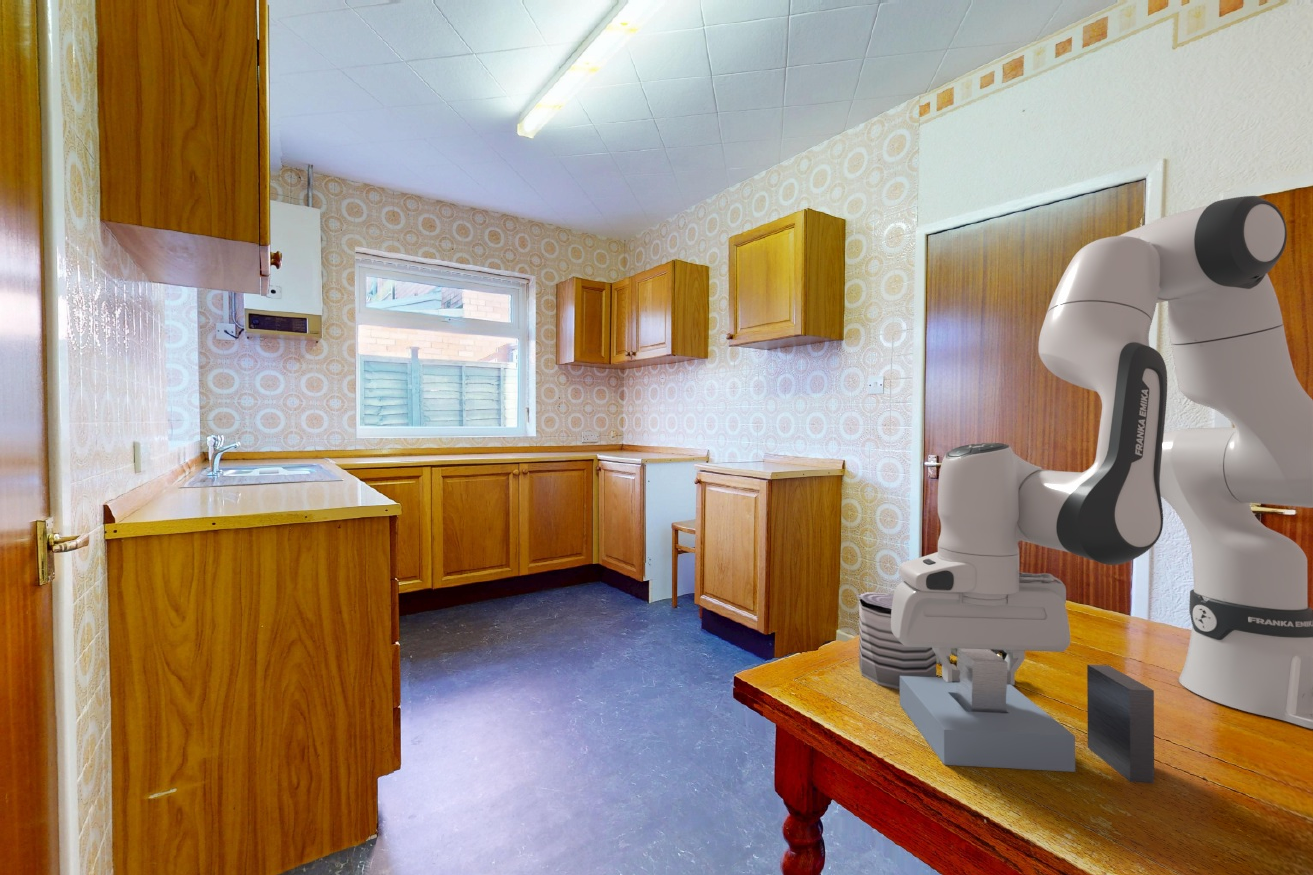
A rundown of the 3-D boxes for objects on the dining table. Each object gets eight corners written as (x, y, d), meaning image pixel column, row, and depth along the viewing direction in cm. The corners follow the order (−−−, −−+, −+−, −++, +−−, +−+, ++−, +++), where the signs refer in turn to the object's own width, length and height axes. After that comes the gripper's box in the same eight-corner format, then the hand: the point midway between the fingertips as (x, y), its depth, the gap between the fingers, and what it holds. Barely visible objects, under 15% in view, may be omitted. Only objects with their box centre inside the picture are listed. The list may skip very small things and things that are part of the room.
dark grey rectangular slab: (1108, 748, 64) (1108, 665, 64) (1154, 783, 58) (1153, 690, 58) (1087, 747, 64) (1087, 664, 64) (1130, 781, 58) (1129, 689, 58)
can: (846, 660, 90) (846, 589, 90) (911, 658, 91) (911, 588, 91) (879, 692, 78) (879, 610, 78) (953, 690, 79) (953, 609, 79)
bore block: (1005, 709, 74) (1005, 679, 74) (1075, 771, 60) (1075, 735, 60) (899, 704, 75) (899, 675, 75) (944, 764, 61) (944, 729, 61)
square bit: (986, 726, 69) (989, 649, 69) (1004, 744, 65) (1007, 662, 65) (954, 723, 69) (957, 647, 69) (970, 741, 65) (973, 660, 65)
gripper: (1048, 567, 70) (1049, 674, 69) (886, 564, 71) (886, 668, 71) (1082, 580, 63) (1083, 697, 63) (903, 576, 65) (904, 690, 65)
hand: (977, 681), depth 67 cm, fingers open, 5 cm apart
